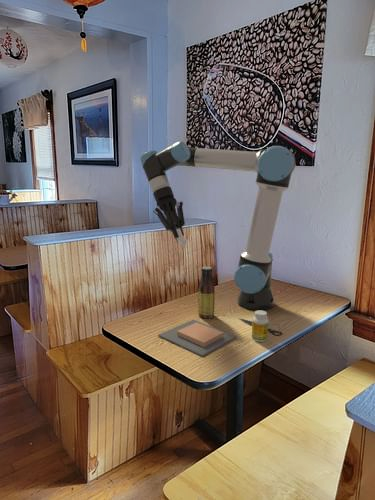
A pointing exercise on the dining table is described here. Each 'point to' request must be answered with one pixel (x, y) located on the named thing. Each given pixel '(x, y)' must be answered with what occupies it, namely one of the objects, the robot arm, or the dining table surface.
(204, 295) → the sauce bottle
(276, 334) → the throwing knife
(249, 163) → the robot arm
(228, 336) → the rubber mat
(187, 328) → the terracotta tile
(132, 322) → the dining table surface
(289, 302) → the dining table surface
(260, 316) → the supplement bottle
